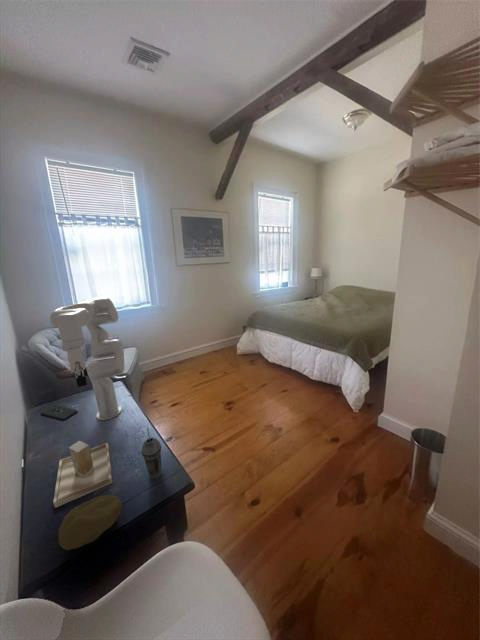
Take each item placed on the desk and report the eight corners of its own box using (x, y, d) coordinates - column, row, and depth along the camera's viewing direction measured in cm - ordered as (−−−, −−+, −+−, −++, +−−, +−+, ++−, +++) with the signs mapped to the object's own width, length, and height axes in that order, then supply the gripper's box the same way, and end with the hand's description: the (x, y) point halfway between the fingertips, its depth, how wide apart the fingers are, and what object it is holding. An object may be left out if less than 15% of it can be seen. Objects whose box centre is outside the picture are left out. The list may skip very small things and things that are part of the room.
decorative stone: (118, 501, 88) (113, 478, 85) (129, 526, 80) (123, 501, 77) (60, 538, 77) (52, 513, 75) (65, 570, 69) (56, 543, 66)
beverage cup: (147, 484, 94) (138, 439, 89) (144, 470, 100) (136, 427, 95) (167, 476, 97) (159, 432, 92) (163, 463, 103) (156, 421, 98)
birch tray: (61, 464, 106) (59, 460, 105) (108, 447, 114) (107, 442, 113) (55, 507, 87) (53, 502, 86) (112, 482, 96) (111, 477, 95)
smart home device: (54, 404, 150) (78, 410, 142) (55, 406, 150) (78, 412, 143) (39, 412, 142) (63, 418, 135) (40, 415, 143) (64, 421, 135)
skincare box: (74, 473, 100) (67, 447, 97) (85, 464, 103) (79, 439, 100) (84, 478, 97) (77, 452, 94) (95, 470, 100) (88, 444, 97)
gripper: (64, 339, 107) (73, 375, 112) (60, 351, 93) (71, 392, 97) (84, 335, 111) (92, 371, 115) (84, 346, 96) (93, 386, 101)
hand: (82, 380), depth 106 cm, fingers open, 9 cm apart
